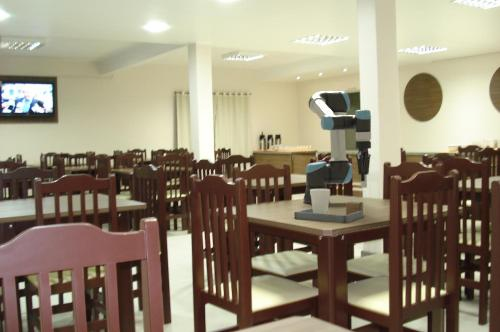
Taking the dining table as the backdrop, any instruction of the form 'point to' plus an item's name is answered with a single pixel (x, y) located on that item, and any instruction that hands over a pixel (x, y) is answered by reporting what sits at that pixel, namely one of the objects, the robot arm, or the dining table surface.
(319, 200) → the foam cup
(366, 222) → the dining table surface
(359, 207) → the walnut block
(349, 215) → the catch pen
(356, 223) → the dining table surface
